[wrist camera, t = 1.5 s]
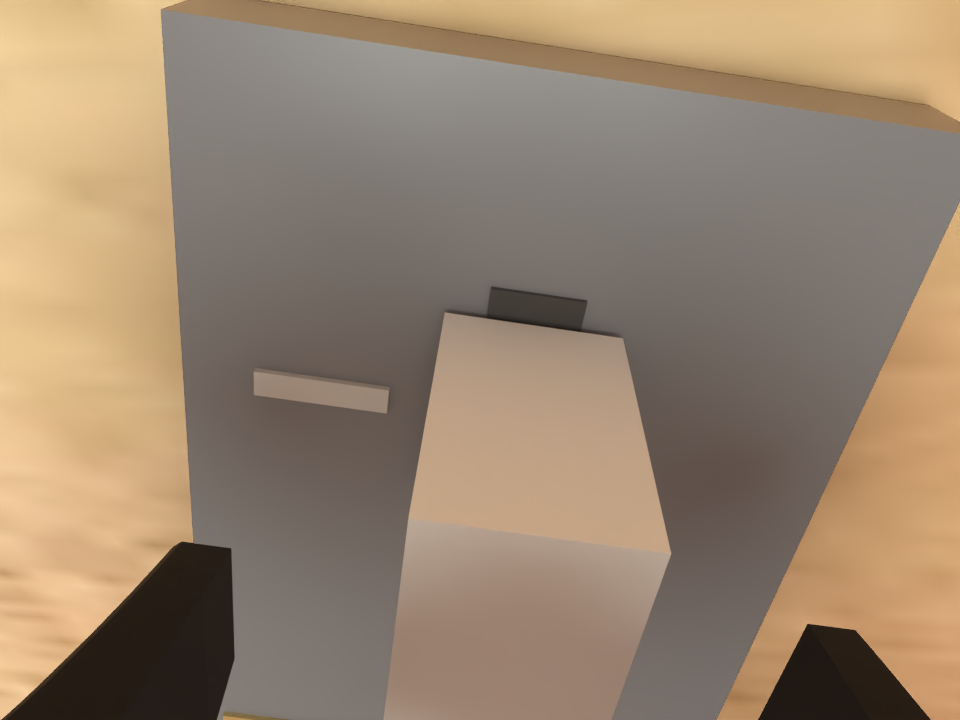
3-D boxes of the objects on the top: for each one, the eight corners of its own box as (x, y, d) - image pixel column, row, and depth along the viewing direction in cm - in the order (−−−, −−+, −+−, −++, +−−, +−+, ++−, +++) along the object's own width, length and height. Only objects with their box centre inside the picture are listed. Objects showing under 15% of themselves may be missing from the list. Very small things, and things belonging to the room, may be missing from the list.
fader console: (928, 105, 13) (993, 140, 12) (596, 894, 27) (602, 968, 25) (209, -8, 13) (157, 10, 11) (236, 850, 26) (215, 922, 24)
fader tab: (623, 338, 13) (671, 554, 9) (575, 517, 15) (596, 761, 11) (444, 312, 13) (407, 518, 9) (420, 496, 15) (381, 735, 11)
